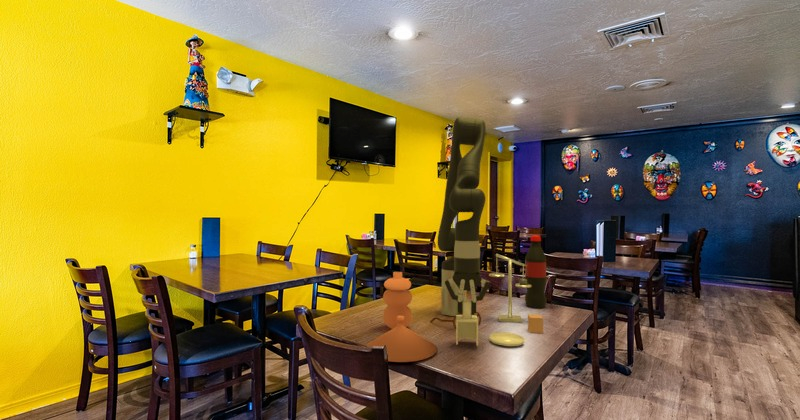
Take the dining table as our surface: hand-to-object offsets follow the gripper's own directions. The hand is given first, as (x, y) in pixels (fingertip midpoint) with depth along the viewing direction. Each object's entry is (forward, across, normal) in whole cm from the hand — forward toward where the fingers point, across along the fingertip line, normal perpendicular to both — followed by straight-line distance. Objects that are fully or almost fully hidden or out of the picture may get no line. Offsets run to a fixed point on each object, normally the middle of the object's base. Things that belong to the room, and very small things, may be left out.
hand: (466, 313), depth 112 cm
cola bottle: (+9, +30, +51) cm, 60 cm away
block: (+9, +23, +17) cm, 30 cm away
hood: (+8, 0, 0) cm, 8 cm away
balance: (+9, +16, +29) cm, 35 cm away
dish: (+9, +12, +4) cm, 16 cm away
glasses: (+10, -3, +22) cm, 25 cm away
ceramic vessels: (+10, -20, +2) cm, 23 cm away
